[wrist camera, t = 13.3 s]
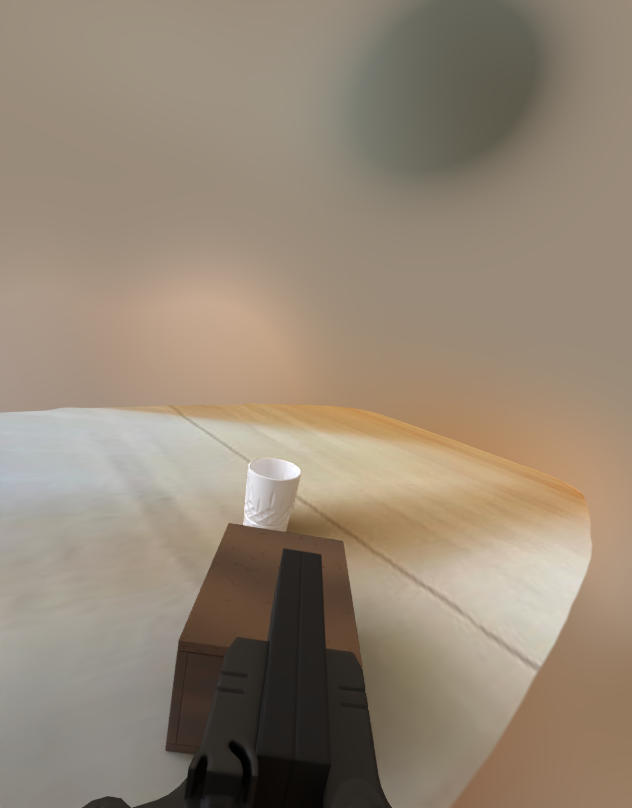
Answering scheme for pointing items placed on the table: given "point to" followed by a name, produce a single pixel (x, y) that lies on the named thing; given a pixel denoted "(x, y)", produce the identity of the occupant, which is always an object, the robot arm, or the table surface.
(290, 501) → the white cup
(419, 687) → the table surface
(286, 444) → the table surface
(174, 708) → the tea box
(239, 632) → the lid
